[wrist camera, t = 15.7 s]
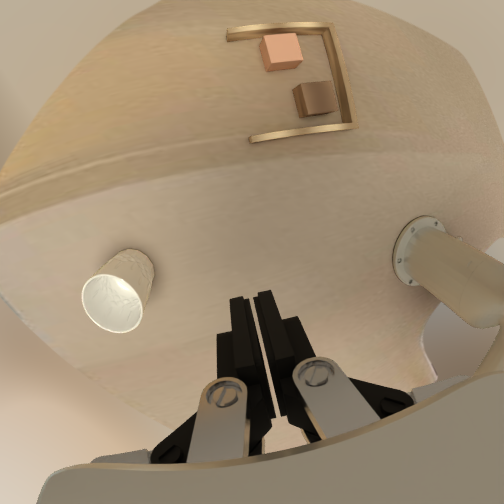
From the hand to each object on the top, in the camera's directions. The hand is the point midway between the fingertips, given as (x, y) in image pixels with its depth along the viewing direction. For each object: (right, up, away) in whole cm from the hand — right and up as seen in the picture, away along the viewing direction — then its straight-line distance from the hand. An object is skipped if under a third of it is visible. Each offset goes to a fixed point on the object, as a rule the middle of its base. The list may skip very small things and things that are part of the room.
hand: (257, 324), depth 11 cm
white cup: (-17, 0, +27) cm, 32 cm away
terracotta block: (+3, +28, +19) cm, 34 cm away
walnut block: (+7, +23, +22) cm, 32 cm away
